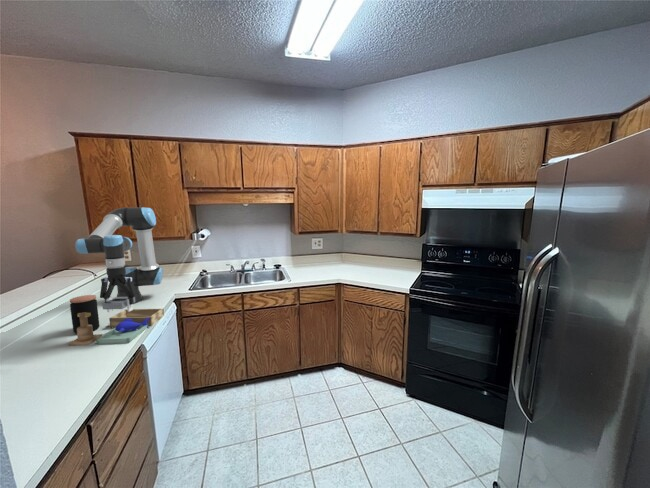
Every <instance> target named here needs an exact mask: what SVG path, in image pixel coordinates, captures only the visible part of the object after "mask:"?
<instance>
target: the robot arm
mask: <svg viewBox="0 0 650 488" xmlns="http://www.w3.org/2000/svg"><path fill="white" fill-rule="evenodd" d="M156 225H157V217H156V215H155V212H154V210H153V209H152V208H151V207H143V206H140V207H120V208H116V209H113V210H112V211H110V212H108V213H107V214H106V215H105V216H104V217H103V219H102V222H101V223H100V224H99V225H98V226H97V227H96V228H95V230H93V231H92V232H91V233H90V235H88V237H86V238H79V239H77V240H76V241H75V246H74V247H75V251H76V252H77V253H78V254H83V255H84V254H87V255H89V254H104V257H105V267H106V270H105V271H106V275H107V277H103V278H101V279H100V281H101V286H100V294H99V298H100V299H104V302H107V301H109V300H111V299H113V298H112V296H111V295H112V293H113V291H114V289H115V287H116V288H117V294H116V297H128V299H127V307H126V308H127V309H128V312H130V311H132V310H133V309H134V308H133V305H134V304H135V305H136V304H138V303H141V302H142V301H143V299H144V298H143V296H142V293H141V291H140V289H139V287H145V286H146V287H147V286H157V285H160V284H161V283H162V280H163V276H164V272H163V271H164V270H163V267H160V264H158V263H157V259H156V254H155V246H154V240H153V232H152V230H153V229H154V227H155V226H156ZM121 227H132V230H133V231H134V232H135V235H136V240H137V246H138V253H139V259H140V265H139V268H138V267H137V266H131V267H126V259H125V258H126V257H125V252H128V251H129V250H130V249H132V247H133V241H132V240H131V239H130V238H129V237H127V236H123V235H120V234H114V233H115V232H116V230H117V229H120V228H121ZM133 297H135V303H134V300H133ZM112 311H114V309H106V312H107V313H110V312H112Z"/></svg>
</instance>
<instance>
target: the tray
mask: <svg viewBox="0 0 650 488" xmlns="http://www.w3.org/2000/svg"><path fill="white" fill-rule="evenodd" d="M137 328H138V329H136V330H134V331H132V330H128V331H116V330H115V328H111V329H110V330H108V332H106V333H104V334H102V336H101V337H99V338H97V339H96V340H95V341H96V342H95V343H96V345H109V344H111V345H114V344H117V345H119V344H131V342H132V341H133V340H135V339H136V338H137V337H139V336H140V335H141V334H142V333H143V332H145V331H146V330H147V329H148V328H147V325H146V326H143V325H140V326H138V327H137Z"/></svg>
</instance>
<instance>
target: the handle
mask: <svg viewBox="0 0 650 488" xmlns="http://www.w3.org/2000/svg"><path fill="white" fill-rule="evenodd" d="M77 315H78V317H79V318H80V327H78V328H77V334H76V335H77V338H76V339H74V340H72V341H70V342H69V343H68V346H89V345H90V344H92V343H94V342H95V341H96V339H97V338H99V337H101V336H102V335H103V334H102V333H101V334H99V333H98V334H94V331H93V327H92V325H88V319H87V317H89V316H91V313H87V312H83V313H78V314H77Z"/></svg>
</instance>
